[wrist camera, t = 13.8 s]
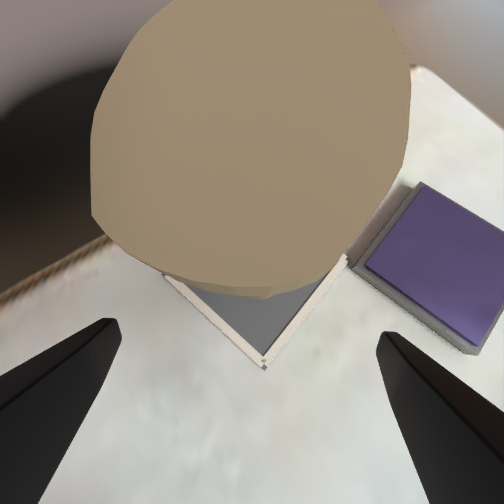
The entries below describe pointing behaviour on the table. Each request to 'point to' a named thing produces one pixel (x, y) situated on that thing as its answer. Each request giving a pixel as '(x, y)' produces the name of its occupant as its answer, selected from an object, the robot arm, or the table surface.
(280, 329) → the stamp mat
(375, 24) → the handle
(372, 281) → the ink pad
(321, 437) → the table surface
